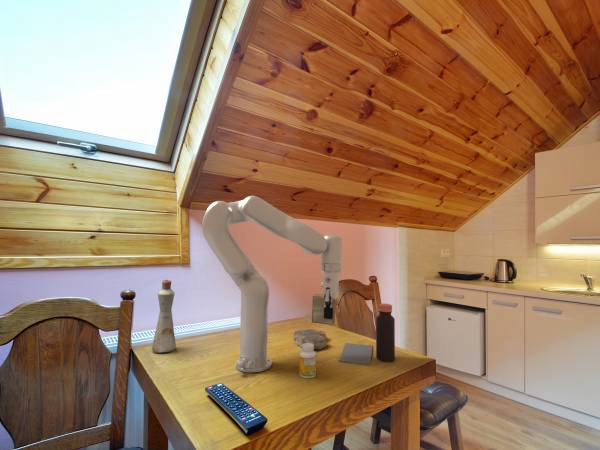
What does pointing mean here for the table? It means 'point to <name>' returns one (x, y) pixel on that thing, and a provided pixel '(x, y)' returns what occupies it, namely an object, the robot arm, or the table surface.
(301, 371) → the supplement bottle
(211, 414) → the table surface
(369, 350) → the mat
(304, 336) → the grey rock
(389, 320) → the vinegar
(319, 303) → the slab
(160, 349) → the bottle
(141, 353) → the table surface
